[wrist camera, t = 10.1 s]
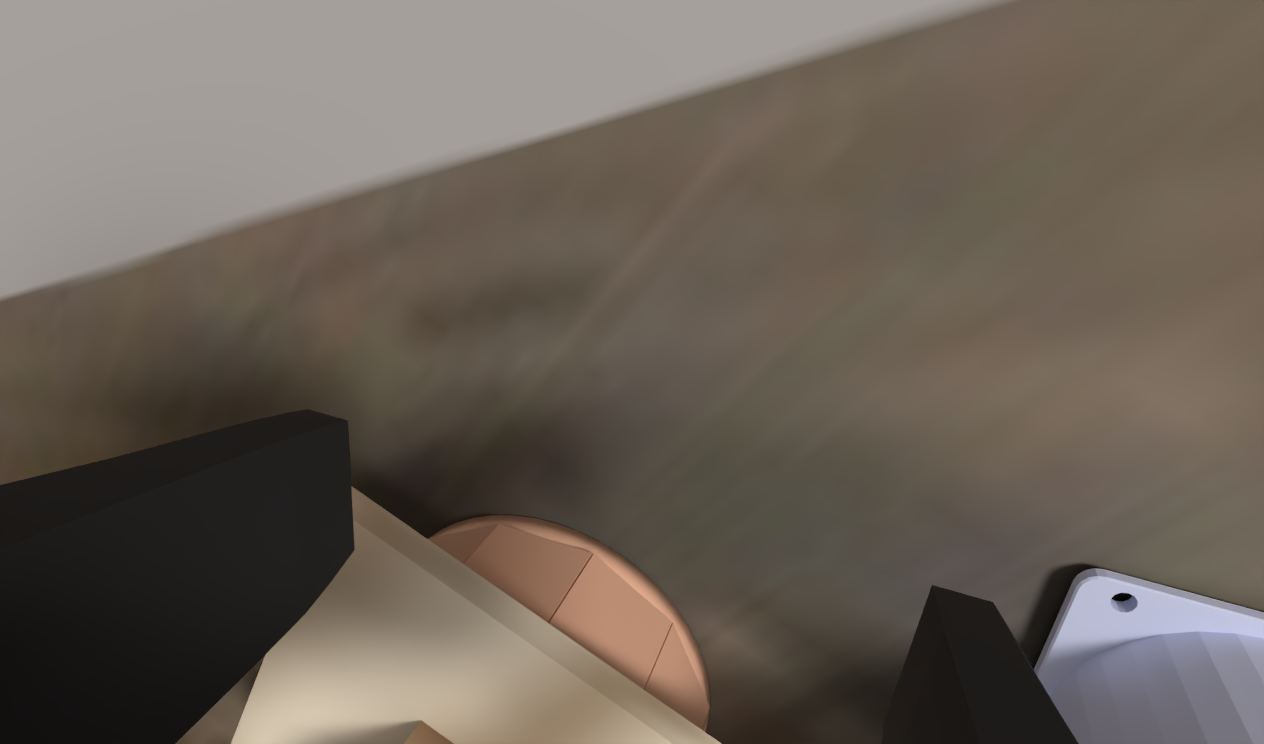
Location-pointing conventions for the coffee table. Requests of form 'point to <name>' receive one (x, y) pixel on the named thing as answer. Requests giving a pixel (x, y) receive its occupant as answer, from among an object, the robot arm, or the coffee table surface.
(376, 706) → the cover board
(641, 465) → the coffee table surface
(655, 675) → the bowl
